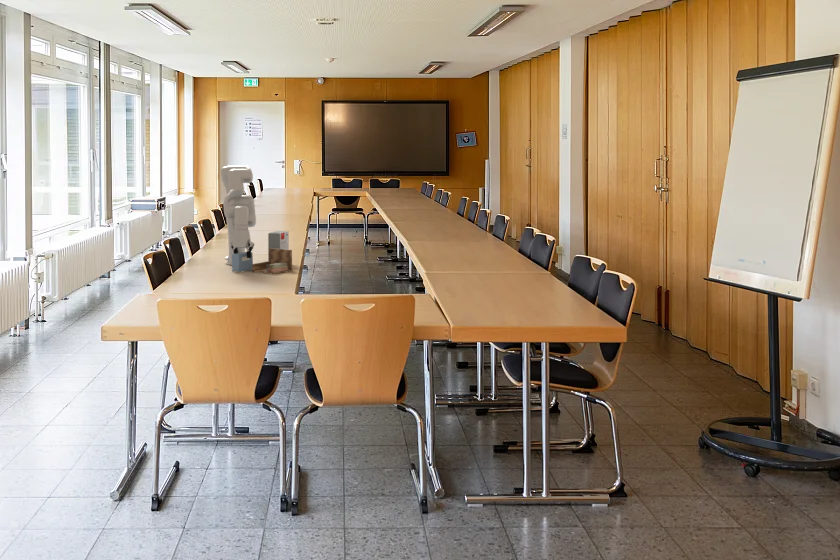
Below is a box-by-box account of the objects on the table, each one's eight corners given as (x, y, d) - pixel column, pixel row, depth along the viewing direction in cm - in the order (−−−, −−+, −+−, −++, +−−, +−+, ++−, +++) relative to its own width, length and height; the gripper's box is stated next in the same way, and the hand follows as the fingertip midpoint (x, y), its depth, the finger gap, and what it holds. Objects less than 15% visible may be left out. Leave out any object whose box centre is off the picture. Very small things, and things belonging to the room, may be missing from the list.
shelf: (252, 271, 500) (251, 251, 498) (270, 268, 513) (270, 248, 511) (274, 274, 492) (274, 253, 490) (292, 270, 506) (291, 249, 504)
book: (232, 271, 502) (231, 254, 500) (246, 268, 512) (245, 251, 511) (239, 272, 499) (238, 254, 498) (253, 269, 510) (252, 252, 508)
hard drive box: (280, 267, 520) (279, 233, 516) (268, 266, 521) (267, 233, 518) (289, 263, 535) (288, 230, 531) (277, 262, 536) (276, 230, 533)
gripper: (225, 227, 503) (226, 257, 505) (248, 228, 494) (249, 258, 496) (234, 227, 509) (235, 256, 511) (257, 227, 501) (258, 257, 503)
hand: (242, 257), depth 504 cm, fingers open, 9 cm apart
